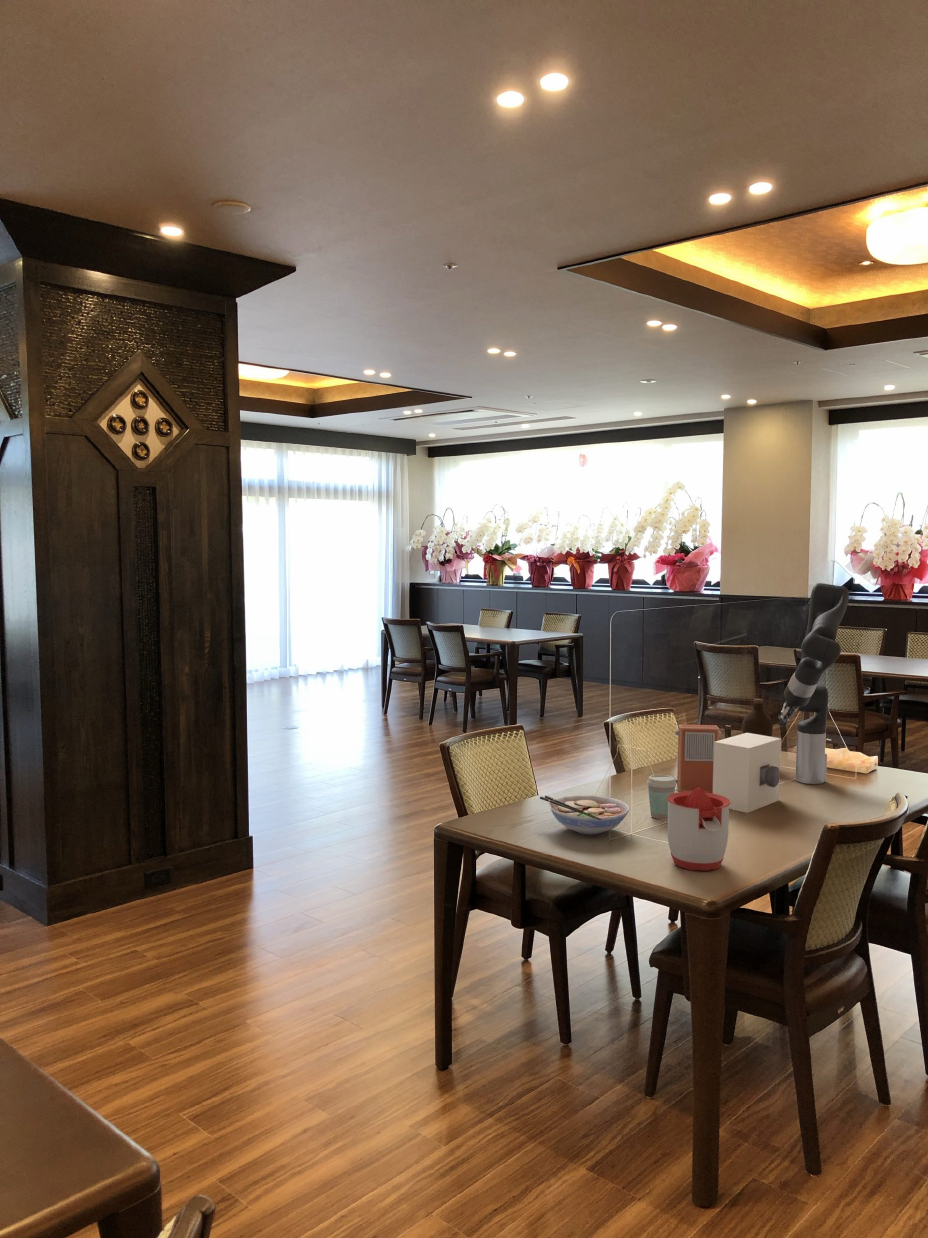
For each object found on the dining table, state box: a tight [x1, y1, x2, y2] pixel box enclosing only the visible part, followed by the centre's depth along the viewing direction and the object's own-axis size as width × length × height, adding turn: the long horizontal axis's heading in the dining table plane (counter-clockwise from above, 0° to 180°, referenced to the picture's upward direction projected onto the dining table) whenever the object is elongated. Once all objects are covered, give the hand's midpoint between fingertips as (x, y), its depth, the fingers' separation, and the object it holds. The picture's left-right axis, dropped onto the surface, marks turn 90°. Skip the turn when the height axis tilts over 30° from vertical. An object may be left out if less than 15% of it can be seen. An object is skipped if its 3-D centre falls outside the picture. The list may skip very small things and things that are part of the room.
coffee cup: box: [646, 774, 677, 820], centre depth 280 cm, size 9×9×12 cm
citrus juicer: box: [667, 788, 730, 871], centre depth 239 cm, size 16×17×20 cm
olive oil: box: [741, 698, 774, 737], centre depth 342 cm, size 11×11×25 cm
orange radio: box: [674, 723, 722, 793], centre depth 310 cm, size 21×7×15 cm
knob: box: [760, 766, 781, 787], centre depth 292 cm, size 6×9×6 cm
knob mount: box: [713, 733, 782, 814], centre depth 296 cm, size 20×12×20 cm, turn 134°
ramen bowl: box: [539, 794, 631, 836], centre depth 267 cm, size 25×23×8 cm
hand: (781, 725), depth 293 cm, fingers closed
